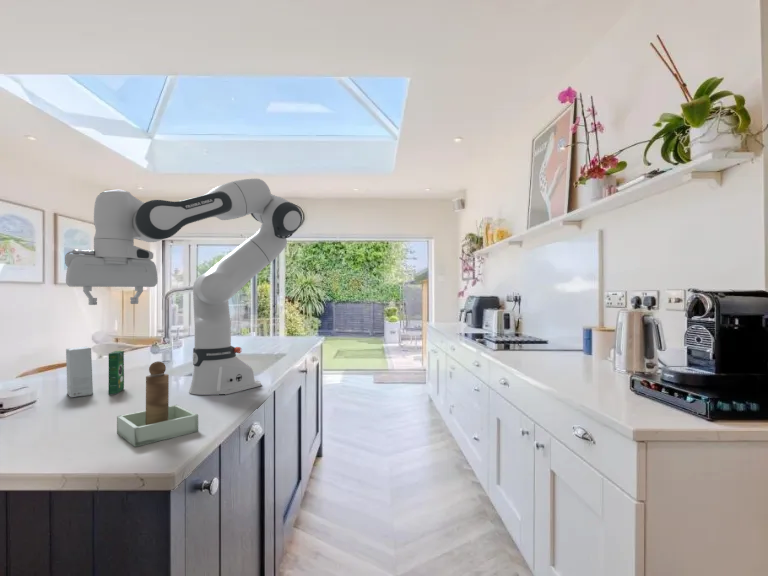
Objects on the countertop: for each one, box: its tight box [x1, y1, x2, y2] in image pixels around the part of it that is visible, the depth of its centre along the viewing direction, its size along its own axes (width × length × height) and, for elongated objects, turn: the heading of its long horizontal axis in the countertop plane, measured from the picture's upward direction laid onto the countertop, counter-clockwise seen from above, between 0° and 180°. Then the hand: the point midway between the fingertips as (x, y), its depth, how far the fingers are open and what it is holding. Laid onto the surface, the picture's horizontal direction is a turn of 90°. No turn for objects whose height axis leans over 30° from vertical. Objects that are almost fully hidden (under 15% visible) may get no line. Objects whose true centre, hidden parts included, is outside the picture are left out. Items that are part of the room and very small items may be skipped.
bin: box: [116, 404, 199, 448], centre depth 95 cm, size 13×13×4 cm
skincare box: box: [65, 346, 94, 398], centre depth 132 cm, size 8×6×15 cm
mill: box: [145, 361, 170, 425], centre depth 96 cm, size 5×5×15 cm
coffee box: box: [107, 350, 125, 396], centre depth 135 cm, size 8×3×13 cm, turn 20°
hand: (114, 304), depth 109 cm, fingers open, 8 cm apart
